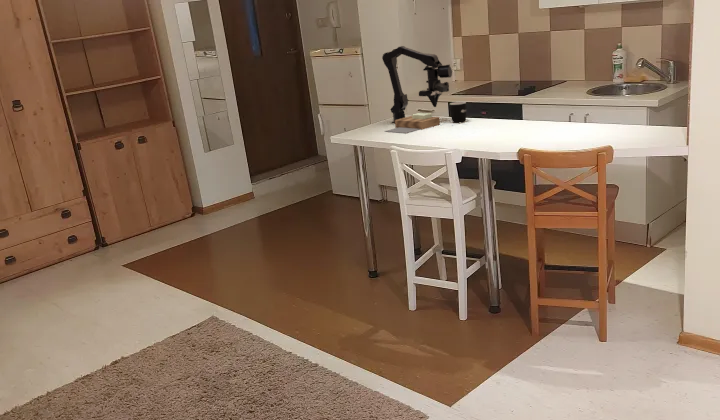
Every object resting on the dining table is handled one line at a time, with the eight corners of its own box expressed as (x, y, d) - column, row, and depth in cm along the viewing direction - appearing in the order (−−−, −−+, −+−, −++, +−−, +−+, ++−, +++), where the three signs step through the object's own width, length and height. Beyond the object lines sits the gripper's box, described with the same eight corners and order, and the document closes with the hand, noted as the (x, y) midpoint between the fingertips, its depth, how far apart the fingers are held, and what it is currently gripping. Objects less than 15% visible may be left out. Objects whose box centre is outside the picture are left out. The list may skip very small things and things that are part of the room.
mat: (384, 131, 352) (384, 131, 352) (399, 127, 359) (399, 127, 359) (405, 133, 340) (405, 132, 340) (420, 129, 347) (420, 128, 347)
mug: (462, 123, 351) (461, 104, 348) (447, 123, 356) (446, 104, 353) (473, 119, 360) (472, 100, 357) (458, 119, 365) (457, 100, 362)
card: (412, 118, 359) (411, 114, 359) (419, 116, 363) (419, 112, 362) (424, 119, 353) (424, 115, 352) (431, 117, 356) (431, 113, 356)
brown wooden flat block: (395, 127, 361) (394, 120, 360) (413, 122, 370) (412, 115, 368) (422, 129, 346) (421, 121, 345) (439, 124, 355) (439, 117, 354)
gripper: (432, 80, 347) (434, 110, 352) (455, 75, 359) (457, 104, 363) (417, 80, 356) (419, 109, 360) (440, 75, 367) (442, 103, 371)
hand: (434, 106), depth 363 cm, fingers closed
